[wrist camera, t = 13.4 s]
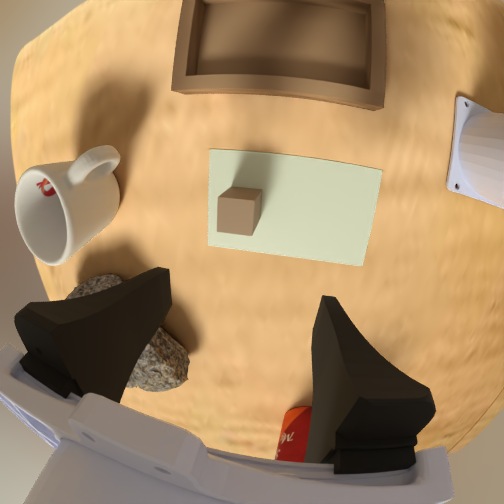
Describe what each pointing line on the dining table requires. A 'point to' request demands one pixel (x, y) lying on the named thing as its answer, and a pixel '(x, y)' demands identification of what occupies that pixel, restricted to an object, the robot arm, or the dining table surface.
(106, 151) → the cup
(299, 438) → the paper cup
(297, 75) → the wooden tray
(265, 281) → the dining table surface
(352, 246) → the lid
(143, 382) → the rock
